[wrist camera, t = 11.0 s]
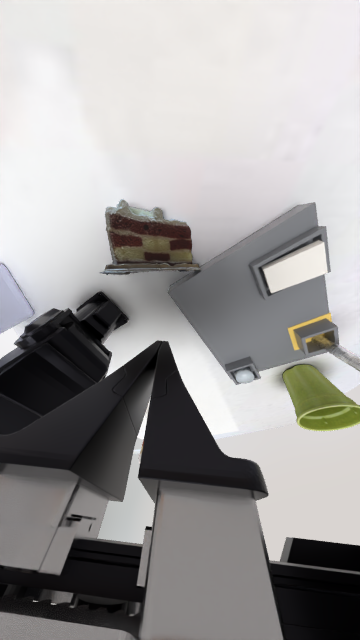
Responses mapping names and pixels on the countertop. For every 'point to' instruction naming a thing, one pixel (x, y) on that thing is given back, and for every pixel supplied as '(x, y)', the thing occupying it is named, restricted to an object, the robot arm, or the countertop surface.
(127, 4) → the countertop surface
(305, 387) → the plant pot
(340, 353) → the toggle lever
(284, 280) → the rocker switch
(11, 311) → the soap bottle
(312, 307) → the switch panel
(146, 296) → the countertop surface
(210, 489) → the robot arm
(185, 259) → the chocolate cake
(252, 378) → the push button
